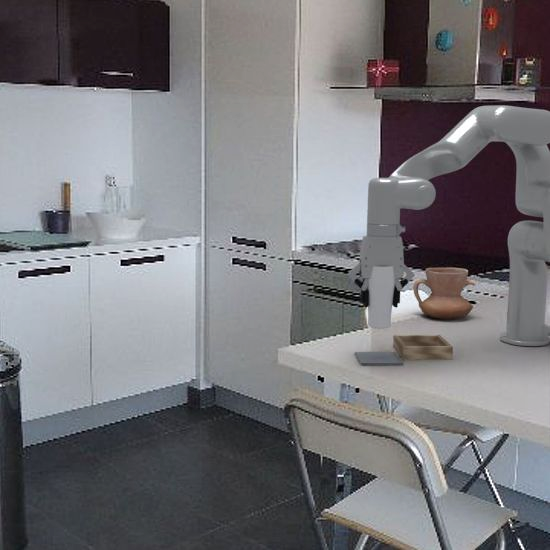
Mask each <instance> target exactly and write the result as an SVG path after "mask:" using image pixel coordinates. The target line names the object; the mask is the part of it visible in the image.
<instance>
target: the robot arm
mask: <svg viewBox="0 0 550 550" xmlns="http://www.w3.org/2000/svg"><path fill="white" fill-rule="evenodd" d="M492 142H504V143H506V144H507V146H508V147H509V148H510V150H511V151H512V152H513V155H514V157H515V161H516V162H515V163H516V174H515V175H516V177H515V178H516V181H515V206H516V209H517V211H518V212H520V213H521V214H523V215H526V216H530V217H535V218H536V217H537V218H543V221H537V220H522V221H518V222H517V223H515V224H514V225H513V226H512V227H511V228H510V230H509V232H508V236H507V247H508V248H507V249H508V256H509V279H508V280H509V281H508V297H507V298H508V299H507V312H506V313H507V314H506V315H507V316H506V329H505V331H503V332H501V333H499V340H500V341H502V342H504V343H506V344H510V345H515V346H520V347H521V346H522V347H540V346H541V347H543V346H546V345H549V344H550V326H549V325H547V324H545V320H546V308H547V306H546V305H547V292H548V282H549V281H548V280H549V279H548V277H549V273H548V268H547V264H546V262H548V263H550V149H549V147H548V145H549V144H550V111H549V110H546V109H539V108H528V107H520V106H513V105H482V106H478V107H476V108H474V109H473V110H471V111H470V112H468V114H467V115H466V116H464V118H462V119H461V120H460V121H459V122H458V123H457V124H456V125H455V126H454V127H453V128H451V130H450V131H449V132H448V133H447V134H445V136H443V138H441V139H440V140H439V141H438V142H435V143H434V144H432V145H430V146H429V147H427V148H425V149H423V150H422V151H420V152H418V153H417V154H414V155H413V156H412V157H409V158H408V159H407V160H406V161H404V162H403V163H402V164H401V165H400V166H398V167H397V169H395V170H394V171H393V173H391V174H390V175H389V177H373V178H371V179H370V180H369V182H368V185H367V187H368V188H367V210H366V212H367V214H366V215H367V219H366V235H363V236H362V239H361V245H360V249H359V250H360V251H359V252H360V253H359V261H358V262H359V263H357V264H356V265H355V266H354V267H353V268H352V269H351V270H349V272H348V273H347V276H348V277H349V278H350V279H351V280H352V281H353V282H354V283H355V284H356V286H358V287H359V288H360V303H361V304H362V305H363V307H364V308H368V294H369V292H368V291H367V287H368V285H369V279H371V275H372V270H373V266H378V267H389V266H393V272H394V279H395V287H394V295H393V304H392V307H393V308H398V304H400V303H401V291H402V290H403V289H404V288H405V286H407V285H408V283H409V282H411V281H412V280H413V278H414V277H415V273H414V272H413V271H412V270H411V269H410V268H408V266H407V265H406V264H405V258H404V245H403V239H402V236H401V233H405V232H406V226H402V225H401V224H400V221H401V219H400V218H401V217H400V216H401V209H408V210H415V211H417V210H418V211H420V210H423V209H427V208H429V207H430V206H431V205H432V204H433V203H434V201H435V199H436V196H437V195H436V194H437V193H436V188H435V186H434V184H433V183H432V182H431V181H429V180H431V179H433V178H436V177H438V176H442V175H446V174H449V173H453V172H456V171H459V170H460V169H463V168H464V167H465V166H467V165H468V164H469V163H470V162H471V161H472V160H473V159H474V158H475V157H476V156H477V155H478V154H479V153H480V152H481V151H482V150H483V149H484V148H486V146H487V145H488V144H489V143H492ZM404 273H405V274H406V275H405V276H404ZM357 274H359V276H361V277H362V280H360V279H359V278H358V276H357ZM400 279H401V280H400Z"/></svg>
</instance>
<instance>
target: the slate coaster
mask: <svg viewBox="0 0 550 550" xmlns="http://www.w3.org/2000/svg"><path fill="white" fill-rule="evenodd" d="M354 356H355V358H356V359H357V361H358V362H359V364H360V365H361V367H363V366H370V367H371V366H376V367H377V366H404V365H405V364H404V363H405V362H404V361H403V359H401V356H400V355H399V354H398V353H397V351H354Z"/></svg>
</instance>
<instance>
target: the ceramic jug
mask: <svg viewBox="0 0 550 550" xmlns="http://www.w3.org/2000/svg"><path fill="white" fill-rule="evenodd" d="M425 275H426V279H425V278H419V279H417V280H416V281H415V282H414V283H413V295H414V297H415V299H416V300H417V303H418V307H419V309H420V310H421V312H422V313H423V314H425V315H426V316H429V317H431V318H435V319H437V320H446V319H447V320H448V321H449V320H458V319H461V318H464V317H466V316H468V315H469V314H470V313H471V311H472V310H473V308H474V305H473V304H472V303H471V302H469V300H467V299H466V298H464V296H462V295H461V294H462V292H463V290H464V288H465V287H467V286H469V285H472V286H473V287H475V286H476V283H477V281H475V280H473V279H469V280H468V275H469V270H468V269H466V268H462V267H461V268H459V267H428V268H425ZM420 284H422V285H425V286H426V287H427V288H429V289H430V293H431V294H430V295H429V296H428V297H427V298H425V299H424V300H422V299H421V296H420V294H419V287H420ZM447 320H446V321H447Z"/></svg>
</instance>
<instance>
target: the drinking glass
mask: <svg viewBox="0 0 550 550" xmlns="http://www.w3.org/2000/svg"><path fill="white" fill-rule="evenodd" d="M394 287H395V279H394V272H393V266H389V267H378V266H373V270H372V275H371V279H369V285H368V287H367V291H368V292H369V294H368V307H367V325H368V327H370V328H372V329H379V330H380V329H381V330H382V329H383V330H384V329H388V328H390V327H391V323H392V311H393V305H392V304H393V295H394Z"/></svg>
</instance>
